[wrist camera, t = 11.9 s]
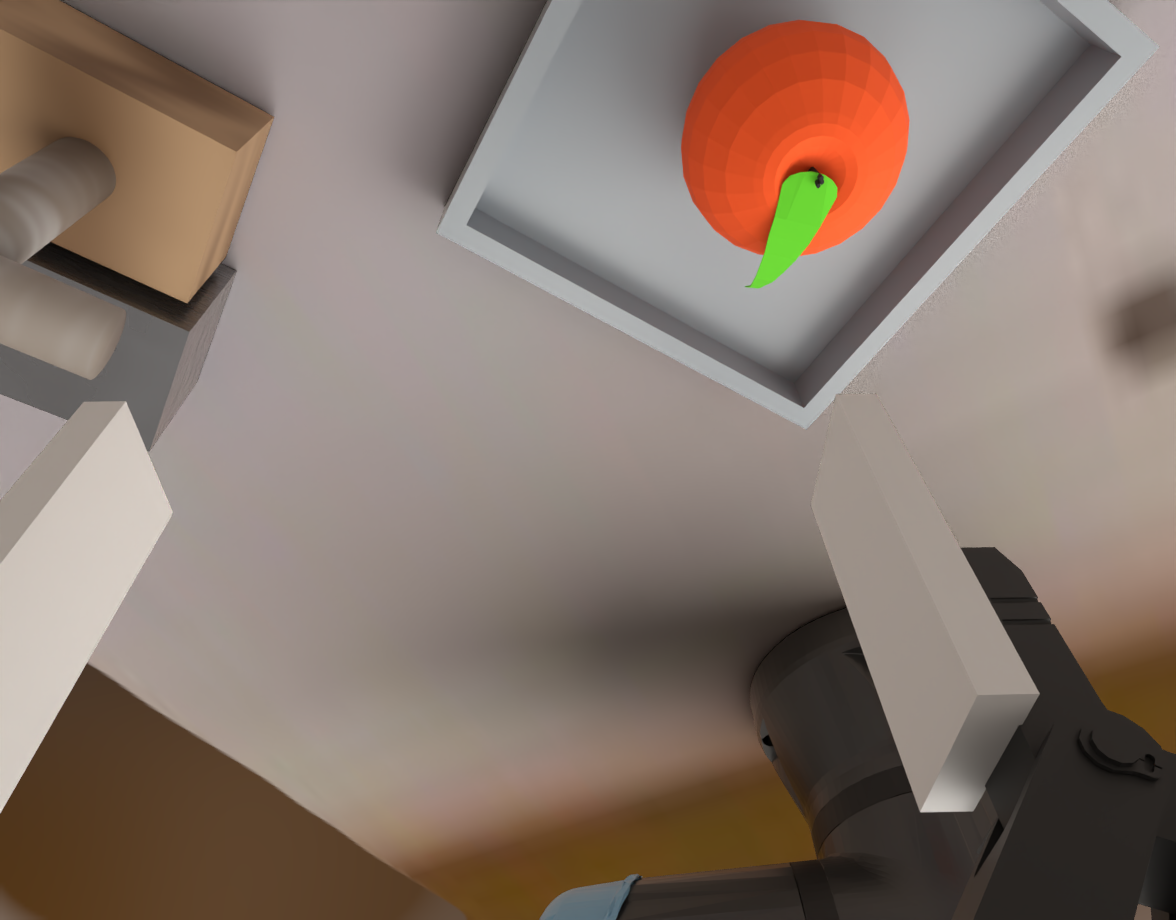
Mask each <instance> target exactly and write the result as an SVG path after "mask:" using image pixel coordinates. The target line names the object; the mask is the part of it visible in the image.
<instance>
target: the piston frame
mask: <svg viewBox="0 0 1176 920" xmlns="http://www.w3.org/2000/svg"><path fill="white" fill-rule="evenodd" d="M22 265H24V266H26V267H29V268H31V269H33V270H35V271H38V272H40V273H42V274H45V275H47V276H49V277H51V278H54V279H56V280H58V281H61V282H63V283H65V284H67V285H70V286H72V287H74V288H76V289H79V290H81V291H83V292H86V293H88V294H90V295H92V296H95V297H97V298H99V299H102V300H104V301H106V302H108V303H111V304H113V305H115V306H118V307H120V308H122V309H124V310H125V311H126V321H125V325H124V329H123V332H122V334H121V337H120V339H119V342H118V344H117V346H116V348H115V350H114V352H113V354H112V356H111V358H110V359H109V361H108V362H107V364H106V365H105V367H104V368H103V370H102V371H101V372H100V373H99V374H98V376H96V377H95V378H94V379H92V380H89V379H86V378H84V377H82V376H79V375H77V374H74V373H72V372H69V371H67V370H64V369H62V368H59V367H57V366H54V365H52V364H50V363H47V362H45V361H42V360H40V359H37V358H35V357H32V356H30V355H27V354H25V353H22V352H20V351H18V350H15V349H13V348H10V347H8V346H5V345H3V344H0V394H2V395H4V396H7V397H10V398H12V399H15V400H17V401H20V402H22V403H25V404H28V405H30V406H33V407H35V408H38V409H40V410H43V411H46V412H48V413H51V414H53V415H56V416H59V417H61V418H64V419H66V420H69V419H70V418H71V416H72V415H73V414H74V413H75V412H76V410H77V409H78V408H79V407H80V406H81V404H82V403H83V402H101V401H126V403H127V405H128V408H129V410H130V412H131V415H132V417H133V419H134V422H135V424H136V426H137V429H138V431H139V433H140V436H141V438H142V441H143V443H144V445H145V448H146V450H147V451H150V450H151V449H152V447H153V446H154V444H155V443H156V441H157V440H158V438H159V437H160V435H161V434H162V433H163V431H164V430H165V428H166V427H167V425H168V424H169V422H170V421H171V420H172V418H173V417H174V415H175V414H176V412H177V411H178V409H179V408H180V406H181V405H182V404H183V402H184V401H185V399H186V398H187V396H188V395H189V393H190V392H191V390H192V389H193V388H194V386H195V385H196V383H197V381H198V378H199V375H200V373H201V370H202V367H203V364H204V361H205V359H206V356H207V353H208V350H209V347H210V345H211V342H212V339H213V336H214V333H215V331H216V328H217V325H218V322H219V319H220V317H221V314H222V311H223V308H224V305H225V303H226V300H227V297H228V294H229V291H230V289H231V286H232V283H233V280H234V277H235V275H236V272H237V271H236V270H234V269H231V268H229V267H227V266H225V265H223V264H221V263H220V265H219V266H218V267H217V268H216V269H215V271H214V272H213V273H212V274H211V275H210V277H209V278H208V279H207V280H206V281H205V283H204V284H203V285H202V286H201V287H200V289H199V290H198V291H197V292H196V294H195V295H194V296H193V297H192V298H191V300H190V301H189V302H188V303H185V302H183V301H180V300H178V299H176V298H174V297H172V296H169V295H167V294H165V293H163V292H161V291H158V290H156V289H154V288H152V287H149V286H147V285H145V284H143V283H141V282H138V281H136V280H134V279H132V278H130V277H127V276H125V275H123V274H121V273H118V272H116V271H114V270H112V269H110V268H107V267H105V266H103V265H101V264H99V263H96V262H94V261H92V260H90V259H87V258H85V257H83V256H81V255H79V254H76V253H74V252H72V251H70V250H68V249H65V248H63V247H61V246H59V245H56V244H54V243H52V242H49V243H48V244H47V245H45V246H44V247H43V248H42V249H40V250H39V251H38V252H36V253H35V254H34V255H32V256H31V257H30V258H29V259H27V260H26V261H25V262H23V263H22Z"/></svg>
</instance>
